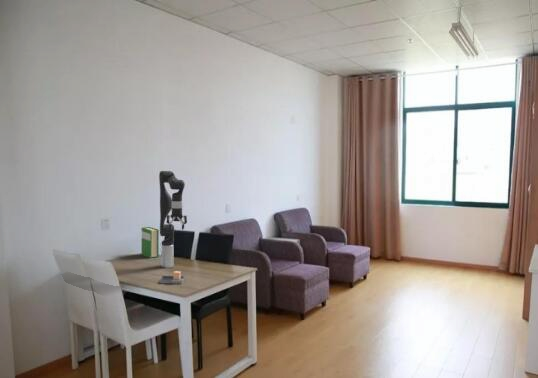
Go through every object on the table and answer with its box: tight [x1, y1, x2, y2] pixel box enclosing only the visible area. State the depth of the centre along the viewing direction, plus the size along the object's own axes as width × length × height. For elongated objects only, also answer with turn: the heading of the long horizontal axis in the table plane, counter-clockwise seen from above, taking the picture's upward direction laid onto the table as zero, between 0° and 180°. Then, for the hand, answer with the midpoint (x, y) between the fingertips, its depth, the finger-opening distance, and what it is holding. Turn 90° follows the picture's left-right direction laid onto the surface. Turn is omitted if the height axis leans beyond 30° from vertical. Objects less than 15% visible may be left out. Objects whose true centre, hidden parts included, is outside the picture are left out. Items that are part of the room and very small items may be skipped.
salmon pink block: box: [172, 270, 182, 280], centre depth 269 cm, size 4×4×7 cm
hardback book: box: [141, 226, 160, 259], centre depth 343 cm, size 18×7×24 cm, turn 42°
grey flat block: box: [158, 275, 185, 285], centre depth 269 cm, size 8×15×3 cm, turn 90°
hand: (176, 229), depth 286 cm, fingers open, 8 cm apart
